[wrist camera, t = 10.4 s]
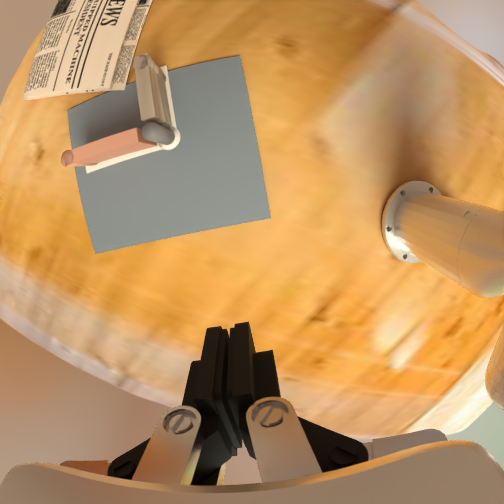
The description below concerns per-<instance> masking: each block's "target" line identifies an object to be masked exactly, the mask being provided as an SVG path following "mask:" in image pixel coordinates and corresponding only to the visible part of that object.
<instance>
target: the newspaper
mask: <svg viewBox="0 0 504 504" xmlns="http://www.w3.org/2000/svg"><path fill="white" fill-rule="evenodd" d="M151 3H152V0H58V2H57V3H56V5H55V7H54V9H53V12H52V14H51V16H50V18H49V21H48V23H47V25H46V28H45V30H44V33H43V35H42V38H41V40H40V43H39V46H38V48H37V51H36V54H35V57H34V60H33V63H32V67H31V70H30V73H29V77H28V81H27V84H26V88H25V92H24V96H23V99H24V100H32V99H40V98H47V97H54V96H61V95H69V94H78V93H88V92H101V91H112V90H125V86H126V82H127V78H128V74H129V70H130V66H131V63H132V59H133V56H134V52H135V49H136V46H137V42H138V39H139V36H140V33H141V30H142V27H143V24H144V21H145V19H146V16H147V13H148V11H149V8H150V5H151Z"/></svg>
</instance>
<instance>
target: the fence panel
mask: <svg viewBox="0 0 504 504" xmlns="http://www.w3.org/2000/svg"><path fill="white" fill-rule="evenodd" d="M174 140H175V134H174V132H173V131H171V130H169V129H167V128H165V127H163V126H161V125H159V124H157V123H155V122H149V123H147V124H145V125H144V126H143V128H142V129H139V128H134V129H130V130H127V131H124V132H121V133H117V134H114V135H111V136H108V137H105V138H102V139H100V140H97V141H94V142H91V143H88V144H86V145H83V146H81V147H78V148H75V149H73V150H66V151H65V152H64V153H63V154H62V157H61V163H62V165H63V166H65V167H74V166H94V165H97V164H98V163H100V162H103V161H106V160H109V159H112V158H116V157H119V156H122V155H126V154H129V153H133V152H136V151H140V150H144V149H148V148H152V147H156V146H157V143H160V144H164V145H170V144H172V143H173V142H174Z"/></svg>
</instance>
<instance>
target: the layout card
mask: <svg viewBox="0 0 504 504" xmlns="http://www.w3.org/2000/svg"><path fill="white" fill-rule="evenodd" d="M160 68H161V69H162V71H163V72H164V75H165V76H166V82H165V83H166V90H167V97H168V103H169V109H170V115H171V121H172V126H168V127H165V128H167V129H169V130H171V131H173V132H174V134H175V140H174V142H173V143H172V144H170V145H164V144H160V143H157V146H156V147H152V148H148V149H144V150H140V151H136V152H133V153H129V154H126V155H122V156H119V157H116V158H112V159H109V160H106V161H103V162H100V163H98V164H97V165H94V166H75V171H76V177H77V182H78V187H79V192H80V197H81V201H82V206H83V210H84V214H85V218H86V222H87V226H88V230H89V234H90V237H91V241H92V244H93V248H94V251H95V254H98V253H102V252H106V251H111V250H115V249H119V248H124V247H128V246H133V245H138V244H142V243H147V242H152V241H156V240H161V239H166V238H171V237H175V236H180V235H185V234H190V233H195V232H200V231H205V230H210V229H215V228H221V227H226V226H231V225H236V224H242V223H247V222H253V221H258V220H264V219H269V218H271V216H270V210H269V205H268V199H267V193H266V187H265V182H264V176H263V171H262V165H261V160H260V154H259V149H258V143H257V138H256V133H255V128H254V122H253V117H252V112H251V107H250V102H249V97H248V92H247V87H246V82H245V77H244V72H243V68H242V63H241V58H240V56H235V57H229V58H223V59H218V60H213V61H208V62H203V63H199V64H194V65H190V66H186V67H182V68H178V69H175V70H171V71H168V70H167V65H165V66H162V67H160ZM68 120H69V130H70V138H71V146H72V150H73V149H75V148H78V147H81V146H83V145H86V144H88V143H91V142H94V141H97V140H100V139H102V138H105V137H108V136H111V135H114V134H117V133H121V132H124V131H127V130H130V129H134V128H139V129H142V128H143V126H144V125H145V124H147V122H144V121H142V120H141V115H140V108H139V101H138V93H137V85H136V82H133V83H130V84H127V85H126V86H125V90H112V91H109V92H107V93H104V94H102V95H100V96H97V97H95V98H93V99H90V100H88V101H86V102H84V103H82V104H80V105H77V106H75V107H73V108H71V109H69V110H68Z"/></svg>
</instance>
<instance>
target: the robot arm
mask: <svg viewBox="0 0 504 504" xmlns="http://www.w3.org/2000/svg"><path fill="white" fill-rule="evenodd" d="M400 192H401V194H400ZM387 227H388V228H387ZM382 233H383V238H384V241H385V244H386V246H387V247H388V249H389V251H390V252H391V253H392V254H393V255H394V256H395V257H397V258H398V259H400V260H402V261H404V262H408V263H417V262H421V261H423V262H425V263H426V264H428V265H429V266H431V267H433V268H434V269H436V270H437V271H439V272H441V273H442V274H444V275H445V276H447V277H448V278H450V279H451V280H453V281H454V282H456V283H458V284H459V285H461V286H462V287H464V288H465V289H467V290H468V291H470V292H471V293H473V294H475V295H476V296H479V297H482V298H494V297H498V296H501V295H504V212H503V211H500V210H496V209H493V208H489V207H485V206H482V205H478V204H474V203H470V202H466V201H462V200H458V199H454V198H450V197H445V196H442V195H441V193H440V192H439V191H438V189H436V188H435V187H434V186H433V185H431V184H430V183H427V182H424V181H417V180H416V181H409V182H406V183H404V184H402V185H401V186H399V187H398V188H397V189H396V190H395V191H394V192H393V193H392V195H391V196H390V197H389V199H388V201H387V203H386V205H385V209H384V212H383V217H382ZM485 385H486V390H487V392H488V394H489V396H490V398H491V399H492V400H493V402H494V403H495V404H497V405H498V406H499V407H500V408H502V409H503V410H504V325H503V328H502V331H501V333H500V336H499V338H498V341H497V343H496V346H495V349H494V351H493V354H492V356H491V358H490V361H489V364H488V367H487V370H486V375H485ZM242 439H243V442H244V444H245V446H246V448H247V450H248V453H249V455H250V456H251V457H252V458H254V459H256V460H257V464H258V468H259V472H260V476H261V479H262V483H256V484H242V485H222V484H223V480H224V476H225V471H226V463H225V462H227V461H228V460H229V459H230V458H231V457H232V456H237V448H242ZM0 504H504V471H503V469H502V468H501V467H500V465H499V464H498V463H497V461H496V460H495V459H494V458H493V456H492V455H491V454H490V453H489V452H488V451H487V450H486V449H485V448H483V447H482V446H481V445H479V444H477V443H475V442H472V441H466V440H449V441H447V438H446V437H445V434H443V433H442V432H441V431H439V430H435V429H426V430H422V431H417V432H413V433H408V434H403V435H397V436H391V437H385V438H379V439H372V442H368V443H361V442H359V441H357V440H355V439H352V438H349V437H347V436H344V435H341V434H339V433H336V432H334V431H331V430H329V429H326V428H324V427H321V426H319V425H316V424H314V423H312V422H309V421H307V420H305V419H303V418H300V417H298V416H297V414H296V412H295V410H294V408H293V406H292V404H291V403H290V402H289V401H287V400H286V399H284V398H281V395H280V389H279V383H278V377H277V371H276V365H275V360H274V355H273V350H270V351H264V352H258V353H256V351H255V347H254V342H253V338H252V333H251V329H250V325H249V322H244V323H238V324H235V328H230V338H229V335H228V331H227V329H222V327H221V326H218V327H211V328H207V330H206V335H205V340H204V345H203V351H202V356H201V360H199V361H193V362H192V363H191V366H190V371H189V375H188V380H187V384H186V388H185V393H184V398H183V402H182V406H177V407H174V408H171V409H170V410H167V411H166V412H165V413H164V414H163V415H162V416H161V418H160V419H159V421H158V424H157V426H156V428H155V430H154V432H153V434H152V436H151V438H149V439H148V440H146V441H144V442H143V443H141V444H140V445H138V446H136V447H135V448H133V449H131V450H130V451H128V452H126V453H125V454H123V455H121V456H119V457H118V458H116V459H115V460H114V461H112V463H110V462H109V461H108V460H102V461H65V462H63V463H61V464H60V465H55V464H50V463H37V462H36V463H25V464H20V465H17V466H15V467H13V468H12V469H11V470H10V471H9V472H8V474H7V475H6V476H5V478H4V480H3V481H2V483H1V485H0Z"/></svg>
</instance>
